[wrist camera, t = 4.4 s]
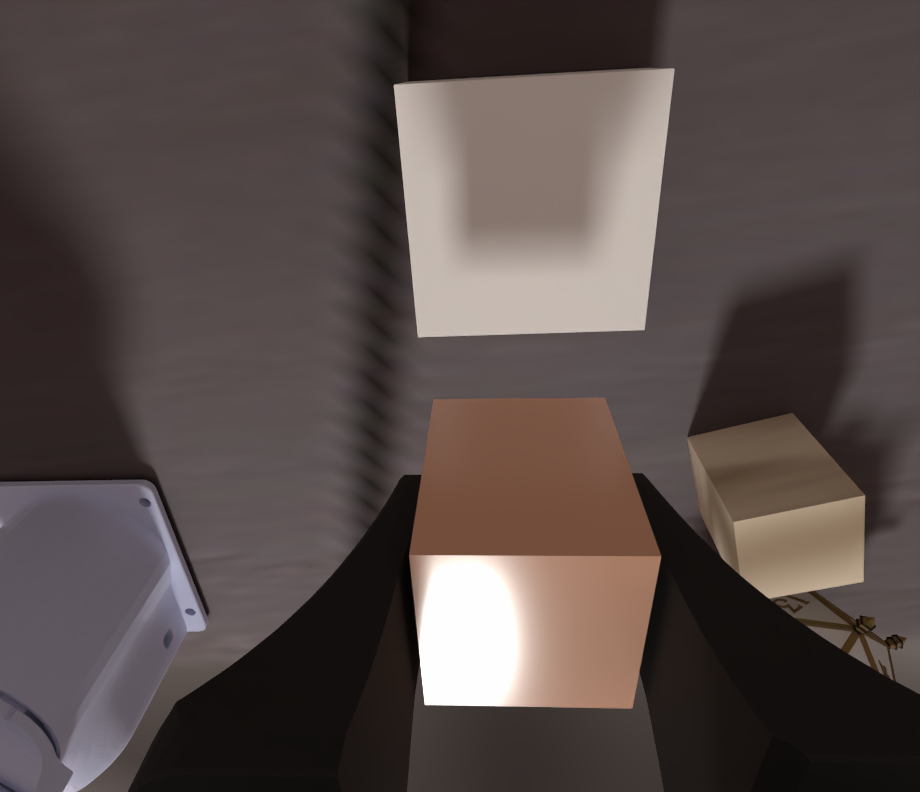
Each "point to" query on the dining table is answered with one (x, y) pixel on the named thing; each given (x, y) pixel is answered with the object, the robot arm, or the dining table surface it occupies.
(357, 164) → the dining table surface
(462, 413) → the terracotta block
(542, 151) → the slab
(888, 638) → the game die
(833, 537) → the maple block
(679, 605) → the robot arm
